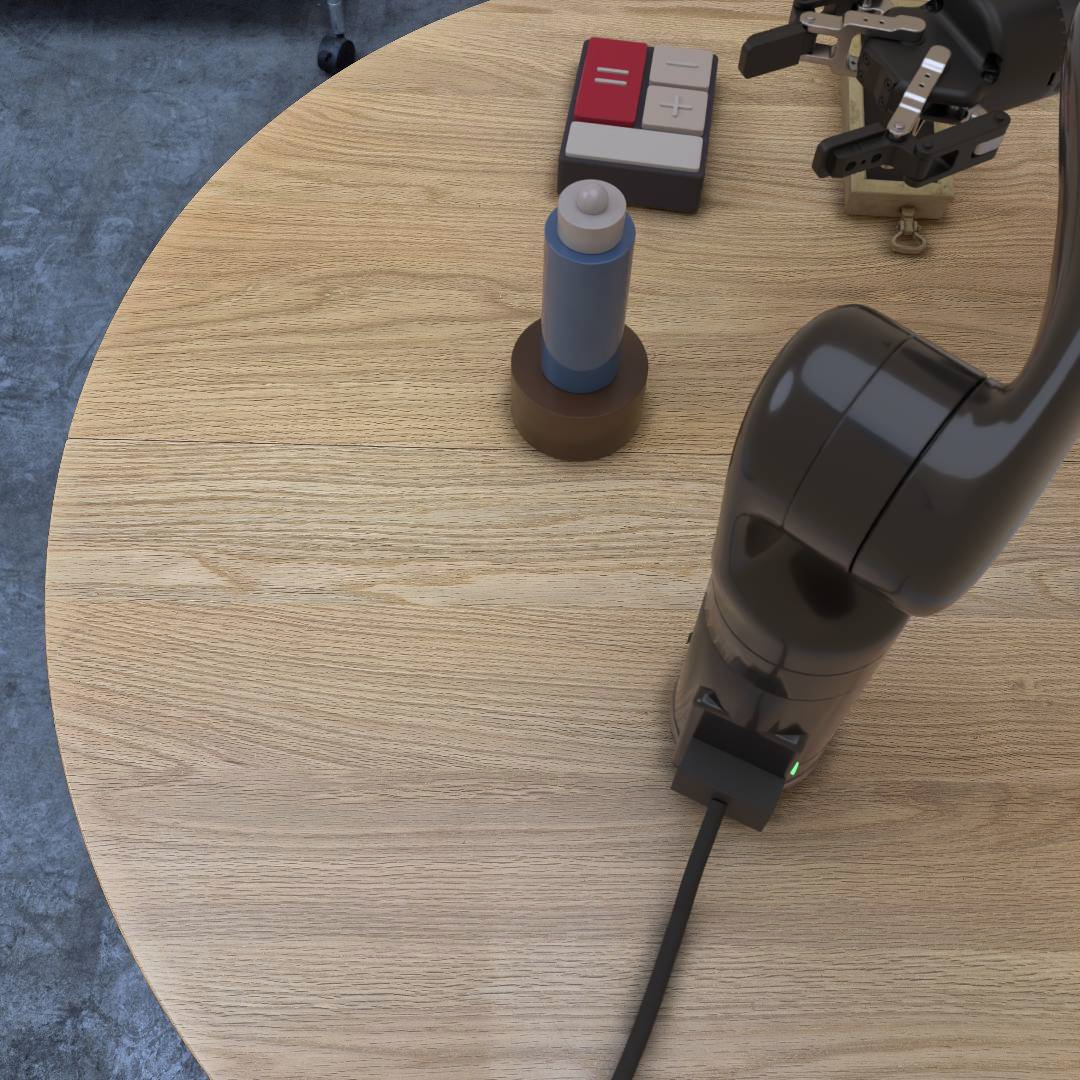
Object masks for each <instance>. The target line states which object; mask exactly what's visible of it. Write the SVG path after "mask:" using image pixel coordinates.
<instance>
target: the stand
mask: <svg viewBox="0 0 1080 1080" xmlns="http://www.w3.org/2000/svg"><path fill="white" fill-rule="evenodd" d="M512 348H513V349H512V351H511V355H510V411H511V417H512V421H513V424H514V426H515V428H516V430H517V432H519V434H520V436H521V437H522V438H523V440H525V442H526V443H528V445H530V446H531V447H533V449H536V450H537V451H538V452H540V453H542V454H544V455H546V456H548V457H551V458H554V459H557V460H562V461H567V462H589V461H595V460H599V459H602V458H605V457H608V456H610V455H612V454H614V453H616V452H618V451H619V450H620V449H622V448H623V447H624V446H625V445H626V444H628V442H629V441H630V440H632V438H633V437H634V435H635V434H636V432H637V430H638V427H640V426H639V425H640V423H641V419H642V413H643V407H644V401H645V394H646V390H647V389H646V388H647V382H648V375H649V366H650V365H649V357H648V353H647V350H646V348H645V346H644V343H643V342H642V340H641V339H640V337H639V336H638V335H637V333H636V332H635V331H634V330H633V329H632V328H631V327H630V326H628V325H627V324H626V323H625V325H624V333H623V341H622V349H621V357H620V365H619V370H618V373H617V375H616V377H615V378H614V379H613V381H612V382H611V383H610V384H608V385H607V386H606V387H604V388H602V389H600V390H598V391H595V392H591V393H583V394H581V393H571V392H567V391H564V390H562V389H560V388H558V387H556V386H555V385H553V384H552V383H551V382H550V381H549V380H548V379H547V378H546V377H545V375H544V373H543V371H542V369H541V365H540V348H541V317H539V318H538V319H536V320H535V321H533V322H532V323H531V324H530V325H528V326H527V327H526V328H525V329H524V330H523V331H522V333H520V335H519V336H518V338H517V340H515V343H514V345H513V347H512Z"/></svg>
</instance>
